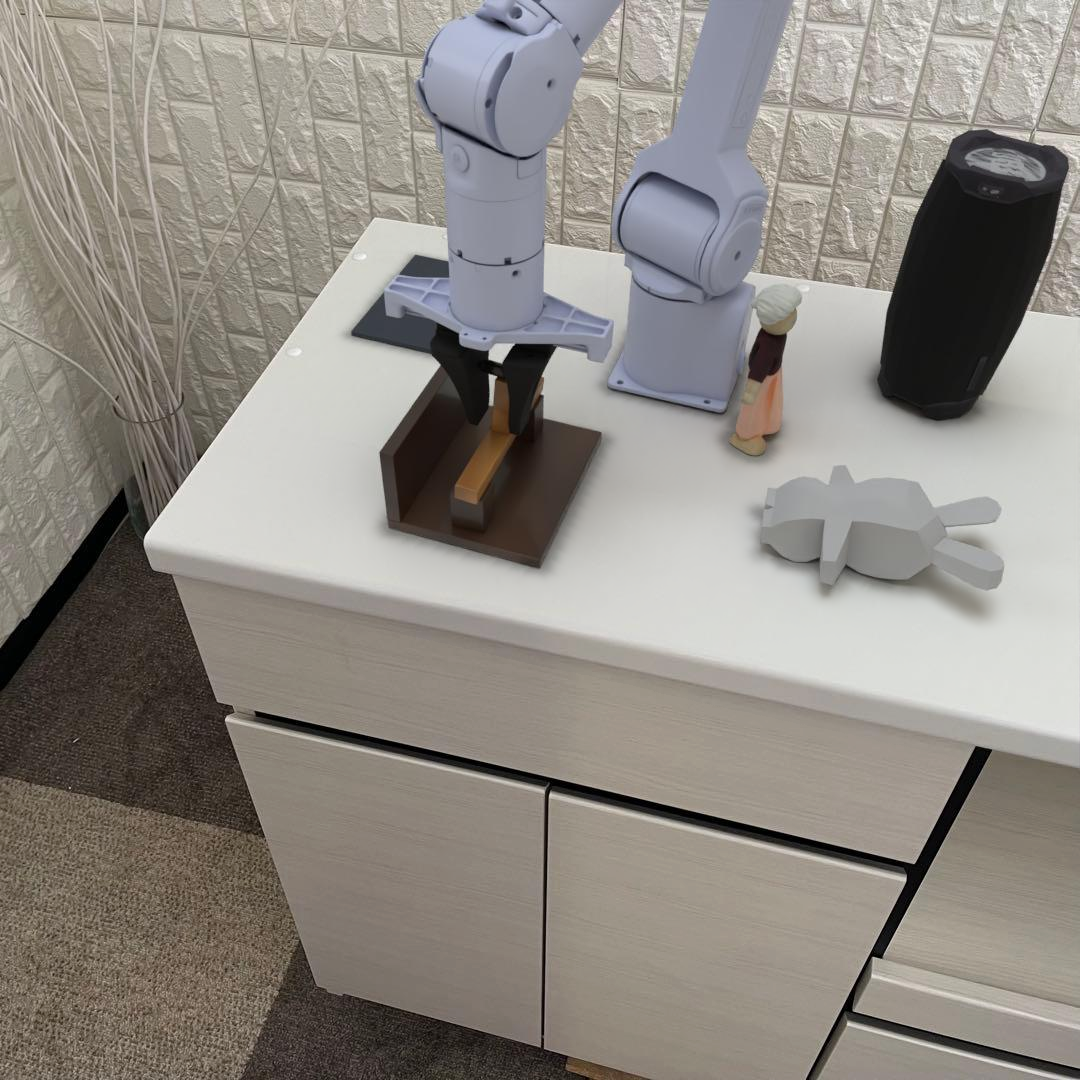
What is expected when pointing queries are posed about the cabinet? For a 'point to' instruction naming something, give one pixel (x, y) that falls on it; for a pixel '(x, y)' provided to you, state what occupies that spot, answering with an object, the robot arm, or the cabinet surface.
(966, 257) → the portable speaker
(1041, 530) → the cabinet surface
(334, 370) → the cabinet surface
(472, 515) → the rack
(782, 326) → the grandmother figurine
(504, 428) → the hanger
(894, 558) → the bunny figurine
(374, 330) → the pad
